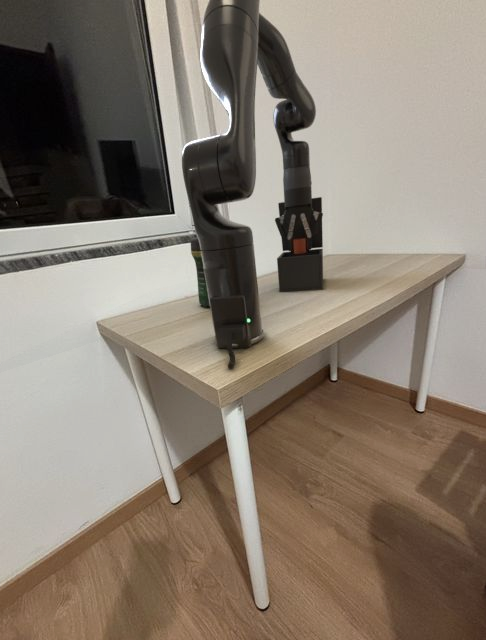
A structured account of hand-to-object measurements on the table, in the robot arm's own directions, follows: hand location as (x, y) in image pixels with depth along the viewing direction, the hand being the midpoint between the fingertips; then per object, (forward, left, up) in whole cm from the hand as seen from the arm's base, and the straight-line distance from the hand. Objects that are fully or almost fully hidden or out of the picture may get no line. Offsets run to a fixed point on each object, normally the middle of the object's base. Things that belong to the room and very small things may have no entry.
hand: (300, 251), depth 91 cm
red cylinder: (0, 0, 0) cm, 0 cm away
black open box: (+1, 0, -10) cm, 10 cm away
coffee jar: (-15, +23, -11) cm, 29 cm away
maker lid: (+6, 0, +7) cm, 9 cm away
